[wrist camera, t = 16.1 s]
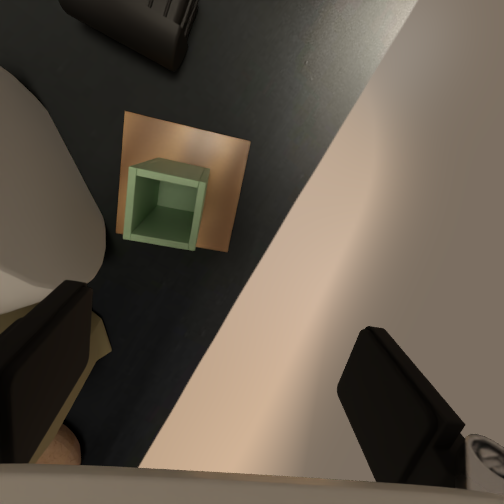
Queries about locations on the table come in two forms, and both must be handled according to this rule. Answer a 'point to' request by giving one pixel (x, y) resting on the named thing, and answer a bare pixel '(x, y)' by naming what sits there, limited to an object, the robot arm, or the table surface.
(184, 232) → the sage tub
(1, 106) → the alarm clock
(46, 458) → the potted plant
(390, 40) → the table surface
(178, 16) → the end cap
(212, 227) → the cork mat
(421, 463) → the robot arm
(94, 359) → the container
